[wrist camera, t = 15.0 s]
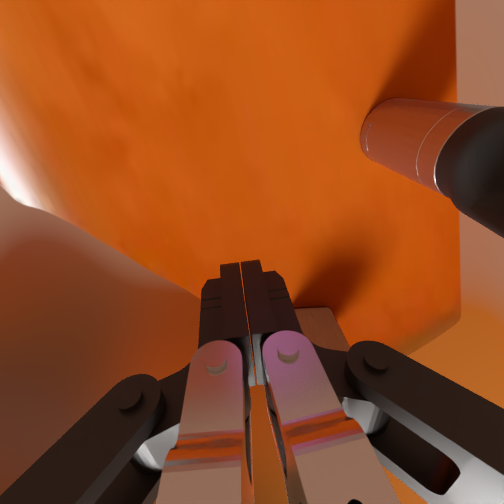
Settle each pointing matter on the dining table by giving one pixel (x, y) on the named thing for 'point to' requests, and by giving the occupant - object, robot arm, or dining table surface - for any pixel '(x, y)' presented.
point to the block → (322, 328)
